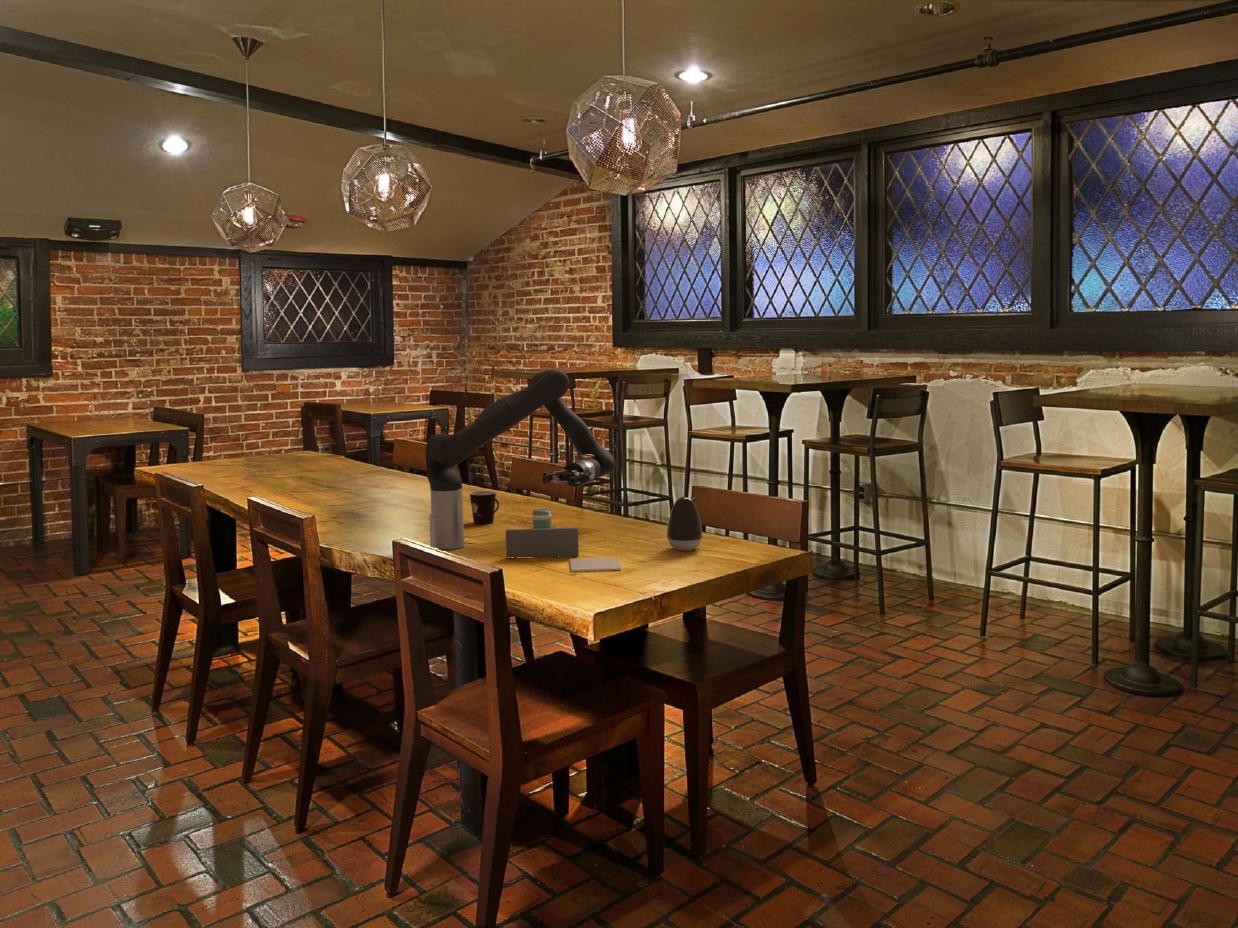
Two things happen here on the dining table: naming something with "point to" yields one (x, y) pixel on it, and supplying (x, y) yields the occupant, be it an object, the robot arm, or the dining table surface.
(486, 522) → the coffee mug
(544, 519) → the canister
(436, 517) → the robot arm
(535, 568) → the dining table surface
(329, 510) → the dining table surface
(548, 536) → the screen
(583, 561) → the pad
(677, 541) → the black egg-shaped body
